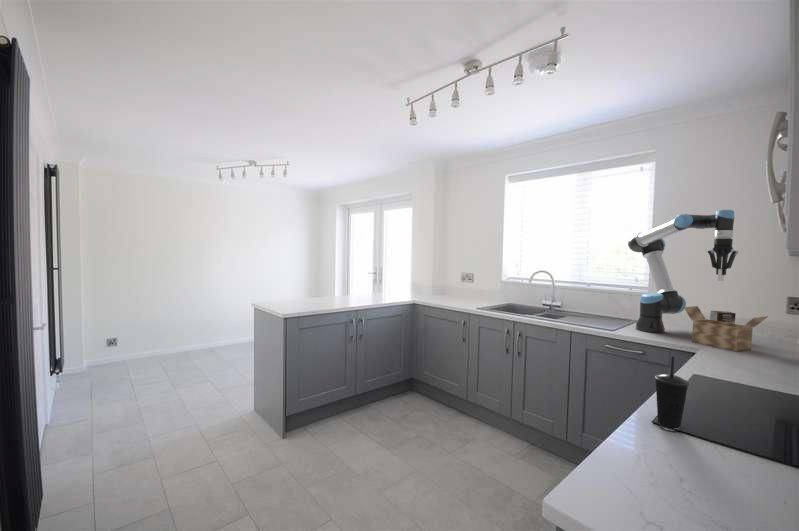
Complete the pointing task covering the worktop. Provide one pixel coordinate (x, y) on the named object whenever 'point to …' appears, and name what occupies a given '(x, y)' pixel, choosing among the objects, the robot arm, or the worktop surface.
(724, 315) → the coffee box
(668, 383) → the drinking cup
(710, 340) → the carton
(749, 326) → the flap
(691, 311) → the flap
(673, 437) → the worktop surface
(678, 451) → the worktop surface
